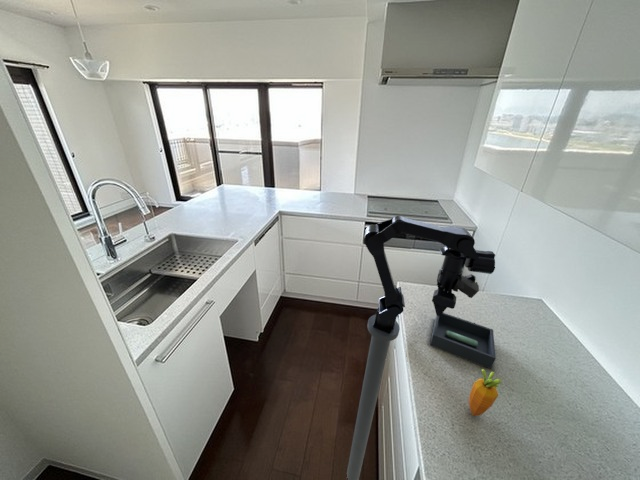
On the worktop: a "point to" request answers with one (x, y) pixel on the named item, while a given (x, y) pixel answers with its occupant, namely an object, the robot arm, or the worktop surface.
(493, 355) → the bin
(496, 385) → the carrot
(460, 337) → the pale green rod
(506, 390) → the worktop surface
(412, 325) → the worktop surface
